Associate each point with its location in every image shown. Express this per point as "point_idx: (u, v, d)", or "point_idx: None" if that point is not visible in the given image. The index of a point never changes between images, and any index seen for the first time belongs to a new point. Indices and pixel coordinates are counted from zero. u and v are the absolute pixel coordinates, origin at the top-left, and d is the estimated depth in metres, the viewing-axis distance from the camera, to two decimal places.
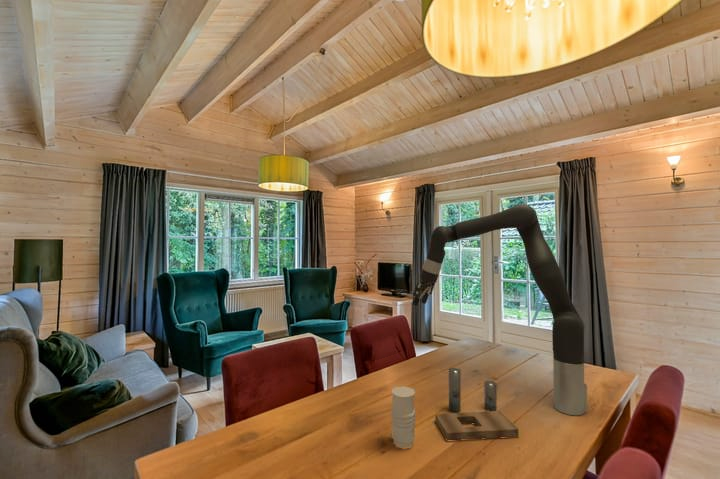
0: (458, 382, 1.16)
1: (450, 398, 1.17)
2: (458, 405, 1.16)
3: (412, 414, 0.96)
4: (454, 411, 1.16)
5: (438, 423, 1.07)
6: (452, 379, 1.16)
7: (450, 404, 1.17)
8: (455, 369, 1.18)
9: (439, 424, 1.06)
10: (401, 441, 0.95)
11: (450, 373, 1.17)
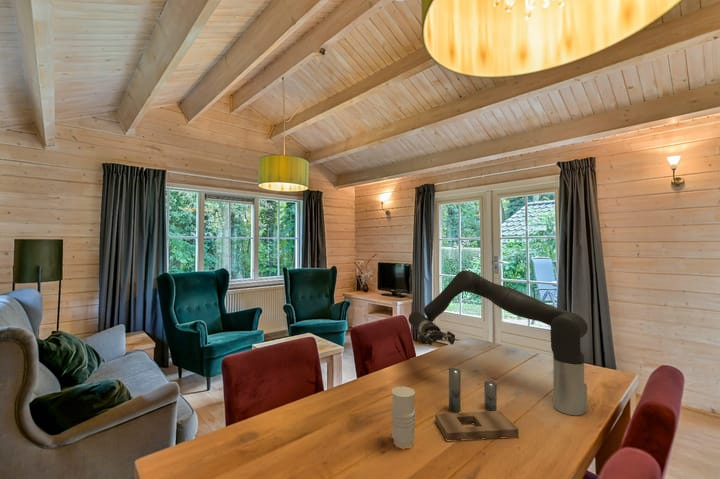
0: (458, 382, 1.16)
1: (450, 398, 1.17)
2: (458, 405, 1.16)
3: (412, 414, 0.96)
4: (454, 411, 1.16)
5: (438, 423, 1.07)
6: (452, 379, 1.16)
7: (450, 404, 1.17)
8: (455, 369, 1.18)
9: (439, 424, 1.06)
10: (401, 441, 0.95)
11: (450, 373, 1.17)
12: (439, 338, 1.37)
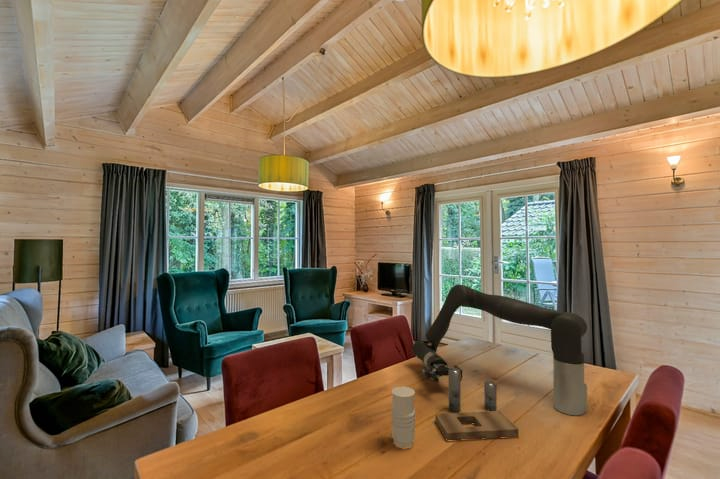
0: (458, 382, 1.16)
1: (450, 398, 1.17)
2: (458, 405, 1.16)
3: (412, 414, 0.96)
4: (454, 411, 1.16)
5: (438, 423, 1.07)
6: (452, 379, 1.16)
7: (450, 404, 1.17)
8: (455, 369, 1.18)
9: (439, 424, 1.06)
10: (401, 441, 0.95)
11: (450, 373, 1.17)
12: (446, 374, 1.30)
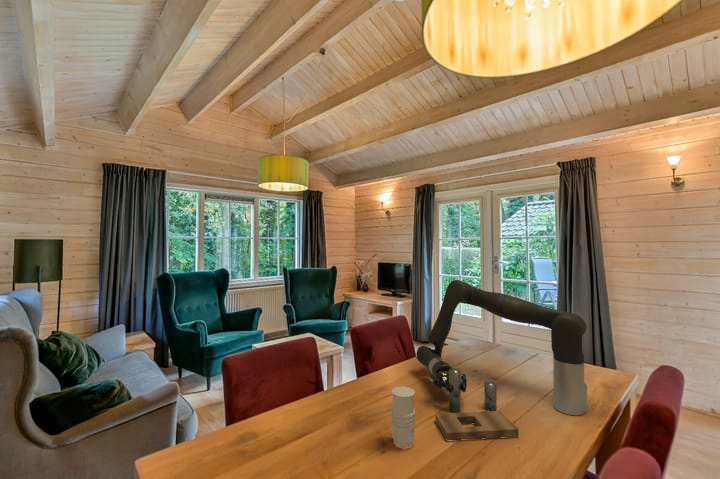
0: (458, 382, 1.16)
1: (450, 398, 1.17)
2: (458, 405, 1.16)
3: (412, 414, 0.96)
4: (454, 411, 1.16)
5: (438, 423, 1.07)
6: (452, 379, 1.16)
7: (450, 404, 1.17)
8: (455, 369, 1.18)
9: (439, 424, 1.06)
10: (401, 441, 0.95)
11: (450, 373, 1.17)
12: None
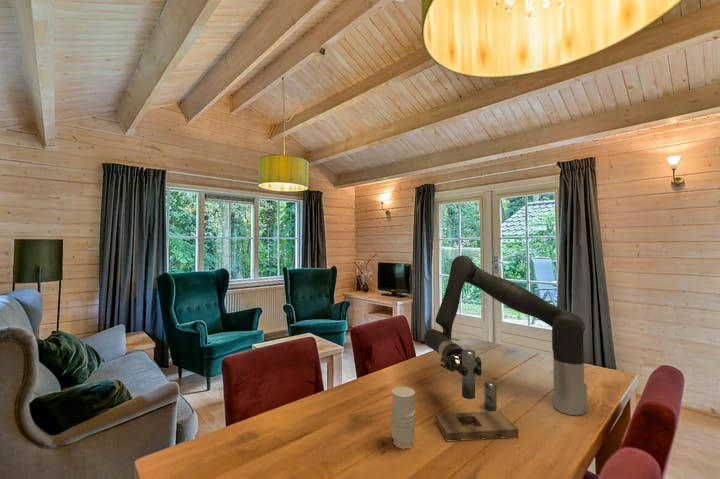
0: (473, 365, 1.04)
1: (464, 382, 1.05)
2: (473, 390, 1.04)
3: (412, 414, 0.96)
4: (468, 397, 1.04)
5: (438, 423, 1.07)
6: (466, 361, 1.04)
7: (464, 389, 1.05)
8: (469, 350, 1.06)
9: (439, 424, 1.06)
10: (401, 441, 0.95)
11: (464, 355, 1.05)
12: None
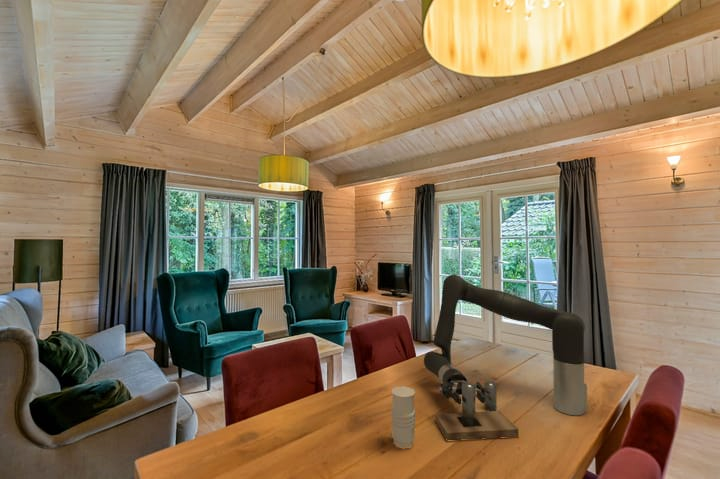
0: (473, 398, 1.04)
1: (464, 416, 1.05)
2: (473, 424, 1.04)
3: (412, 414, 0.96)
4: None
5: (438, 423, 1.07)
6: (466, 394, 1.04)
7: (464, 422, 1.05)
8: (469, 383, 1.06)
9: (439, 424, 1.06)
10: (401, 441, 0.95)
11: (464, 388, 1.05)
12: None
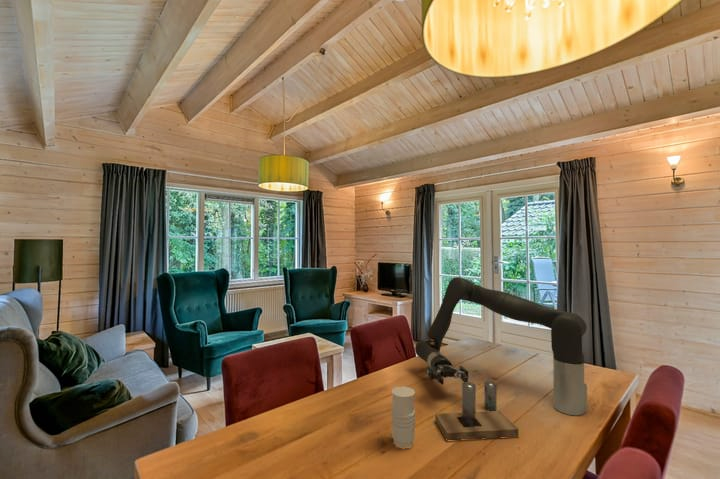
0: (473, 398, 1.04)
1: (464, 416, 1.05)
2: (473, 424, 1.04)
3: (412, 414, 0.96)
4: None
5: (438, 423, 1.07)
6: (466, 394, 1.04)
7: (464, 423, 1.05)
8: (469, 383, 1.06)
9: (439, 424, 1.06)
10: (401, 441, 0.95)
11: (464, 388, 1.05)
12: (451, 375, 1.24)
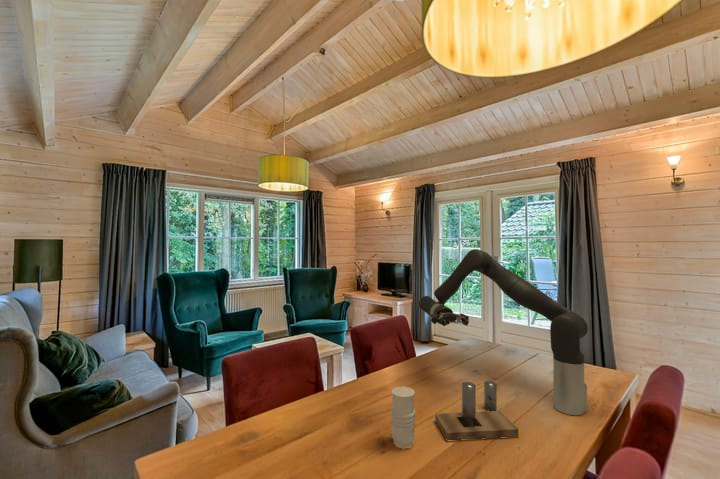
0: (473, 398, 1.04)
1: (464, 416, 1.05)
2: (473, 424, 1.04)
3: (412, 414, 0.96)
4: None
5: (438, 423, 1.07)
6: (466, 394, 1.04)
7: (464, 423, 1.05)
8: (469, 383, 1.06)
9: (439, 424, 1.06)
10: (401, 441, 0.95)
11: (464, 388, 1.05)
12: (452, 320, 1.33)
